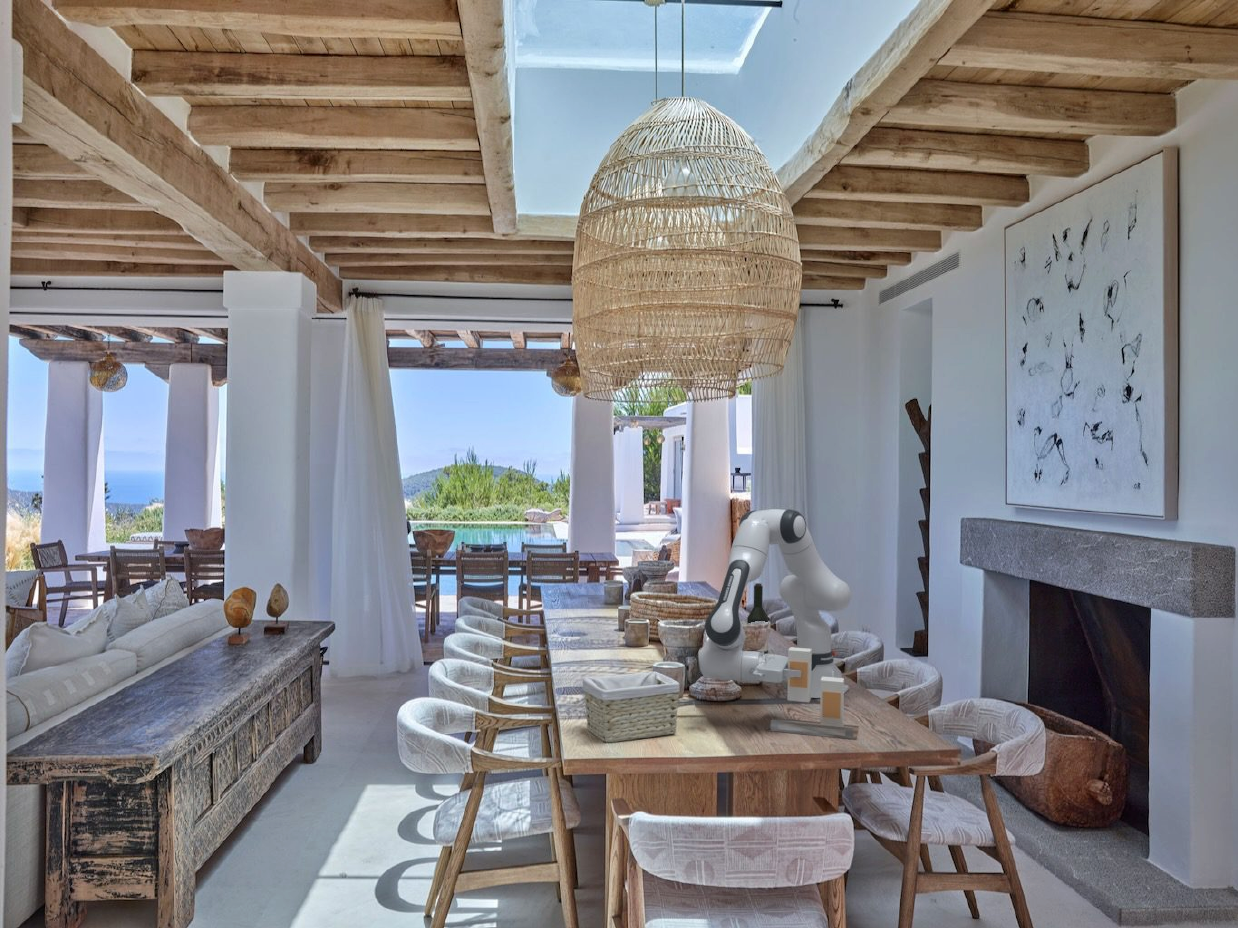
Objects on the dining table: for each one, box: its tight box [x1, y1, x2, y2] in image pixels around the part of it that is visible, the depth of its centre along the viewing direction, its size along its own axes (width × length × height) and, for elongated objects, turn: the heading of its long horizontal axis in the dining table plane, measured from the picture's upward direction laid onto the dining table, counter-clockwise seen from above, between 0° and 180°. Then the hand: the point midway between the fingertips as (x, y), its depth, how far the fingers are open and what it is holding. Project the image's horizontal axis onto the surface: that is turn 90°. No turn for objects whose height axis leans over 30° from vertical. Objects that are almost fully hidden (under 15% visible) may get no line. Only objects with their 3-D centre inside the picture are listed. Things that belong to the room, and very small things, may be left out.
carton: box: [819, 677, 845, 726], centre depth 243 cm, size 5×6×14 cm
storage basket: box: [582, 671, 681, 743], centre depth 243 cm, size 24×16×15 cm
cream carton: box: [786, 646, 812, 703], centre depth 246 cm, size 5×6×14 cm
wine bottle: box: [746, 583, 769, 654], centre depth 342 cm, size 8×8×30 cm
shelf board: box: [766, 717, 860, 741], centre depth 244 cm, size 14×24×4 cm, turn 72°
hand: (802, 671), depth 245 cm, fingers closed on cream carton, 5 cm apart
